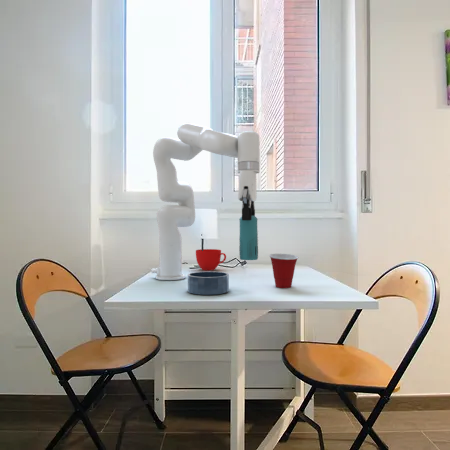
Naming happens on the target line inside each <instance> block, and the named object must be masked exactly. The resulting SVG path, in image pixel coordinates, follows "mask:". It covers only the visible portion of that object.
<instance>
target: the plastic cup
mask: <svg viewBox="0 0 450 450" xmlns="http://www.w3.org/2000/svg"><path fill="white" fill-rule="evenodd" d="M269 258H270V261H271V265H272V274H273V278H274V284H275V285H274V286H275V288H279V289H290V288H292V286H293V285H292V284H293V279H294V274H295V269H296V264H297V261H298V259H299V255H295V254H291V253H271V254H269Z"/></svg>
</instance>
